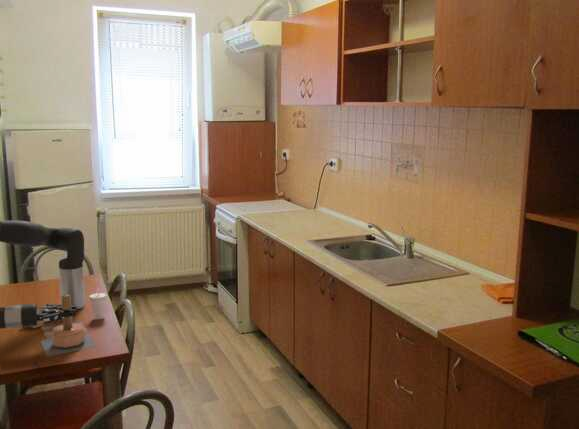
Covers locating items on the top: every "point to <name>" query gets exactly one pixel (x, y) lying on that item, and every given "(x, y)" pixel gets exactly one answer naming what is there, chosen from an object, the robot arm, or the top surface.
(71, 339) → the peg on base plate
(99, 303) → the smoothie
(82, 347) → the slate mat
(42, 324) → the beige piece
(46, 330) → the clear flat panel
